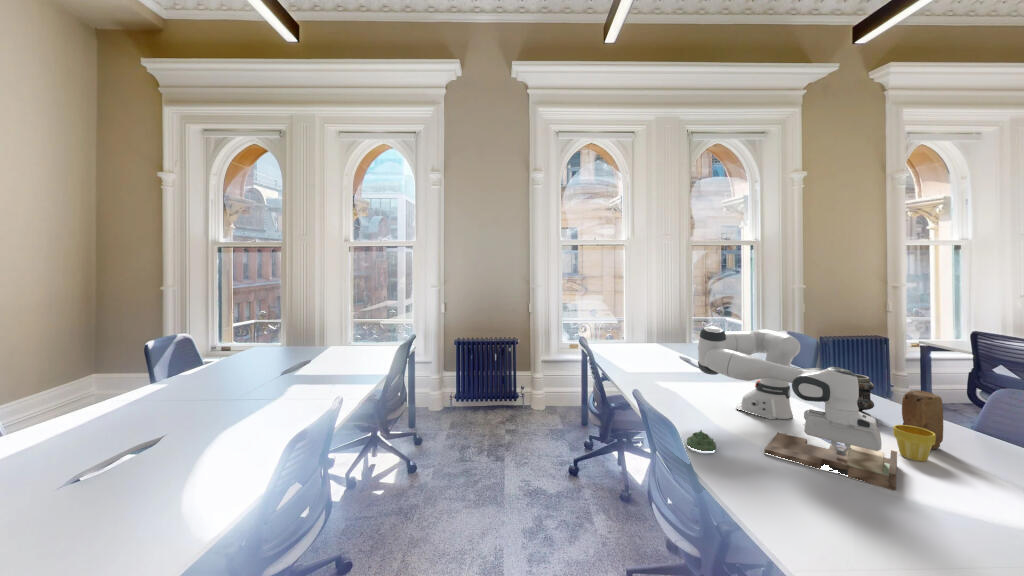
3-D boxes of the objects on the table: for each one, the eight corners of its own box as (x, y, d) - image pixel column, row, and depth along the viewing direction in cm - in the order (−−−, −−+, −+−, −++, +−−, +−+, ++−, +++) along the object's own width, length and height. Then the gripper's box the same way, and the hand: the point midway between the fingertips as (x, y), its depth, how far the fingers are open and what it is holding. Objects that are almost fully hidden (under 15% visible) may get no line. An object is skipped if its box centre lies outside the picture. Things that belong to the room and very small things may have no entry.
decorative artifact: (711, 457, 140) (719, 447, 147) (711, 438, 139) (719, 429, 147) (683, 449, 147) (691, 440, 154) (682, 430, 146) (691, 423, 154)
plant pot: (922, 452, 139) (922, 426, 139) (943, 466, 130) (943, 437, 129) (886, 448, 143) (886, 422, 142) (904, 461, 133) (904, 434, 133)
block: (945, 451, 140) (946, 397, 139) (922, 450, 141) (923, 396, 140) (919, 438, 151) (919, 388, 150) (897, 437, 152) (898, 387, 151)
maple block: (847, 464, 128) (847, 452, 128) (850, 455, 134) (850, 444, 134) (882, 473, 122) (882, 461, 122) (884, 464, 128) (884, 452, 128)
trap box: (764, 454, 140) (764, 441, 140) (777, 437, 155) (777, 424, 154) (895, 490, 116) (895, 474, 116) (896, 466, 130) (897, 451, 130)
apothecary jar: (870, 412, 179) (870, 374, 178) (877, 421, 169) (877, 380, 168) (836, 408, 185) (837, 371, 185) (841, 416, 175) (841, 377, 174)
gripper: (802, 410, 137) (802, 448, 138) (881, 425, 123) (880, 468, 123) (805, 405, 142) (805, 442, 142) (882, 420, 127) (881, 461, 128)
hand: (840, 454), depth 133 cm, fingers closed
